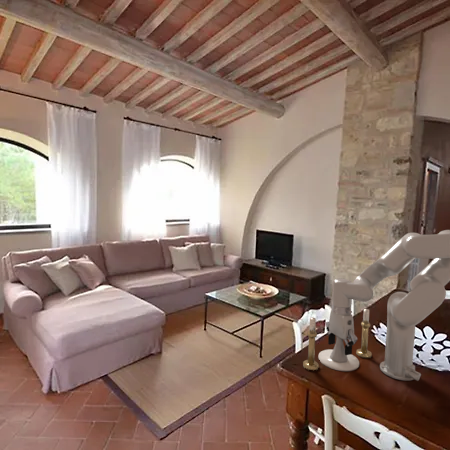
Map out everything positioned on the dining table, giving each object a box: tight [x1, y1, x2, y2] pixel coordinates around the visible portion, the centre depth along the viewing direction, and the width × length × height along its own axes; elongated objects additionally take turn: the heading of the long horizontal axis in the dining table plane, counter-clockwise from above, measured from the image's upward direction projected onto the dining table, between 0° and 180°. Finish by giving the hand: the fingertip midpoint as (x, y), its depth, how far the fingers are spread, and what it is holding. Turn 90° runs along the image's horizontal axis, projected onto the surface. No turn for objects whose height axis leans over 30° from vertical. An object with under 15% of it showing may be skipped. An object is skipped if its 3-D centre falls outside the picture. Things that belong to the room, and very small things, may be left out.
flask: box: [330, 335, 348, 363], centre depth 131 cm, size 7×7×10 cm
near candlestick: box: [302, 316, 320, 372], centre depth 125 cm, size 6×6×20 cm
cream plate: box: [317, 348, 360, 372], centre depth 132 cm, size 16×16×1 cm
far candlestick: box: [355, 308, 373, 359], centre depth 136 cm, size 6×6×20 cm
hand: (339, 349), depth 131 cm, fingers open, 9 cm apart
